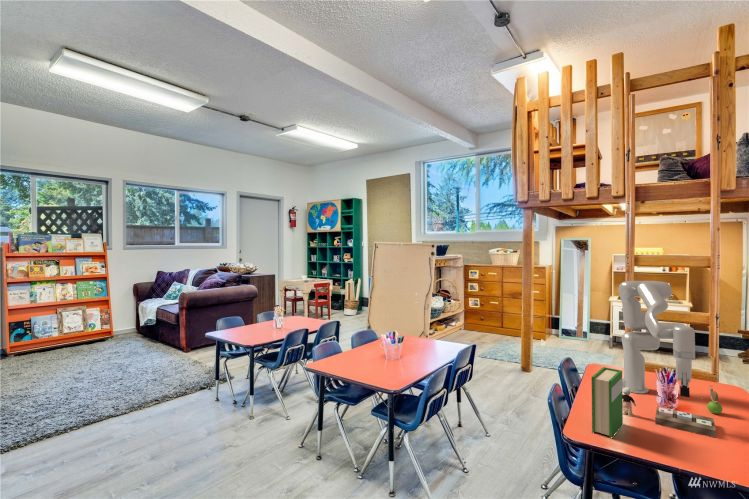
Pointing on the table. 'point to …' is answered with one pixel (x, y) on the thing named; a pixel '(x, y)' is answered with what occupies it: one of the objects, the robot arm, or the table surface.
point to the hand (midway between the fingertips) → (684, 396)
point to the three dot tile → (684, 416)
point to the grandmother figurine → (627, 402)
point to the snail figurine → (714, 403)
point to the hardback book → (607, 401)
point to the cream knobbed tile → (703, 422)
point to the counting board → (687, 423)
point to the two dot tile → (666, 412)
